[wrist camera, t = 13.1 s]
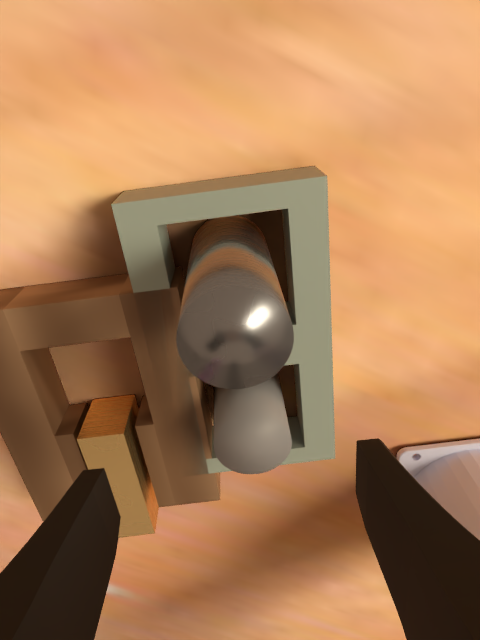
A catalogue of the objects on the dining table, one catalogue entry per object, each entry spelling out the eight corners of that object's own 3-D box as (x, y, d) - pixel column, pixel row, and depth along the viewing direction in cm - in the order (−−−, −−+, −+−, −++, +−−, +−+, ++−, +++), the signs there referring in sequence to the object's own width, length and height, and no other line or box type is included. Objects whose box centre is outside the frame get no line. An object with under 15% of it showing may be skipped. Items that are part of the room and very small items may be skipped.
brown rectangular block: (134, 394, 23) (123, 433, 21) (161, 488, 27) (154, 533, 24) (92, 399, 23) (76, 439, 21) (124, 493, 27) (114, 538, 24)
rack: (314, 165, 18) (341, 187, 14) (325, 426, 25) (345, 491, 21) (123, 191, 19) (97, 219, 15) (183, 443, 25) (176, 511, 21)
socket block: (181, 266, 20) (177, 287, 18) (220, 466, 26) (220, 499, 24) (-27, 293, 20) (-56, 317, 18) (57, 485, 26) (42, 521, 24)
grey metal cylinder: (273, 277, 21) (303, 375, 14) (202, 294, 21) (194, 399, 14) (258, 205, 19) (282, 273, 12) (181, 224, 19) (160, 302, 12)
